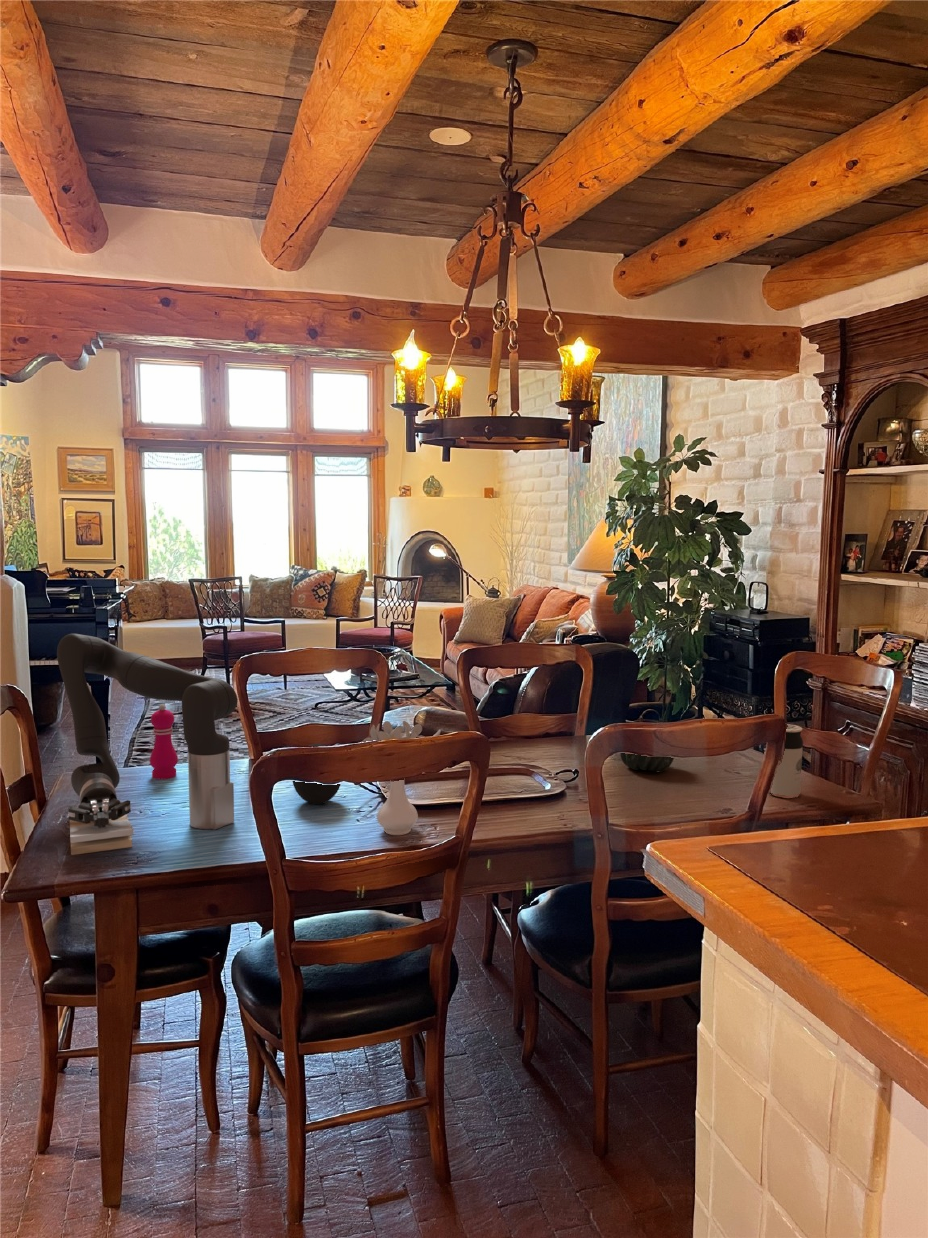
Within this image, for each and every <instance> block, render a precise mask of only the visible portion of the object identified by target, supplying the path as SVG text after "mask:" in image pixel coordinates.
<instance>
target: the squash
mask: <svg viewBox="0 0 928 1238" xmlns="http://www.w3.org/2000/svg"><path fill="white" fill-rule="evenodd" d="M648 723H660V721H650V722H648ZM619 754H620V758H621V759H620V760H622V763H623V764H624V765H625V766H626V767H628V768H630V769H631V770H635V771H638V770H641V771H646V770H647V771H649V772H650V771H652V770H653V772H655V771H662V772H664V771H665V770H666V769H668V768H669V767H670V766H671V765H672V764H673V762H674V759H675V757H674V758H671V757H647V756H641V755H635V754H625V753H619Z"/></svg>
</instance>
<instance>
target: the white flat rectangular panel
mask: <svg viewBox="0 0 928 1238" xmlns="http://www.w3.org/2000/svg"><path fill="white" fill-rule="evenodd" d="M134 834H135V833H134V828H133V826H132V824H131V822H130V820H129V819H128V820H126V821H118V822H110V823H109V824H108V825H106V827H102V828H98V826H94V825H86V826H78V827H70V826H69V835H70V836H69V839H70V844H71V843H76V842H83V841H91V840H98V839H106V838H113V837H121V836H128V835H131V836H133V835H134Z"/></svg>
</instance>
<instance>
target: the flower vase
mask: <svg viewBox="0 0 928 1238" xmlns="http://www.w3.org/2000/svg"><path fill="white" fill-rule="evenodd" d="M380 724H381V723H378V724H377V726H375V724H372V726H371V728H370V730H369V736H367V737H366V738H364V739H363V740H362V741H361V743H362V742H366V741H373V740H379V741H380V740H389V739H402V740H403V739H404V740H405V739H408V738H416V737H426V736H424V735H420V734H421V732H422V731H423V726H422V725H421V724H420V723H418V724H414V726H413V727H411V726H410V723H409V722H407V721H406V720H403V721H402V726H401V725H400V726H397V727H395V728H394V729H393V726H392V723H391V722H390V721H389V720H385V721H384V722H383V724H382V725H383V726H382V728H383V729H382V730H383V731H382V730H380ZM441 732H442V731H441V729H438V730H437V732H436V733H435V734H433V736H438V735H439V736H441ZM433 736H432V737H433ZM361 743H360V744H361ZM406 793H407V792H406V787H405V779H404V780H399V781H394V782H391V781H390V786H389V794H388V797H386V798H387V799H386V800H385V802H384V803H383V805H381V806H380V807H379V809H378V811H377V813H376V819H377V822H378V824H379V825H380V826H381V827H382V828H383V832H384V831H385V832H386V833H385V832H384V833H385V834H388V835H391V836H402V835H407V834H409V833H410V832H411V830H412V827H414V826H415V824H416V823H417V821H418V820H419V815H418V811H417V809H416V807H415V806H414V805H413V804H412V803H411V802H410V801H409V798H408V797H407V794H406Z"/></svg>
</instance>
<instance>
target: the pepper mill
mask: <svg viewBox="0 0 928 1238" xmlns="http://www.w3.org/2000/svg"><path fill="white" fill-rule="evenodd" d="M158 709H159V710H156V711H154V712H153V713H152V715H151V717H150V723H151V725H152V726H153V728H152V730H153V732H152V733H153V734H154V739H155V740H154V746H153V748H152V751H151V754H150V758H149V764H150V766H151V767H152V768H153V769H152V770H151V776H152V779H155V780H169V779H172V778H175V777H176V776H177V769H176V768H175V766H177V764H178V762H179V758H178V753H177V752H176V749H175V747H174V744H173V742H172V734H173V724H174V722H175V714H174V713H173V712H172V711H170V710H168V709H166V705H165V704H163V703H161V704H160V705H159V706H158Z"/></svg>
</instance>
